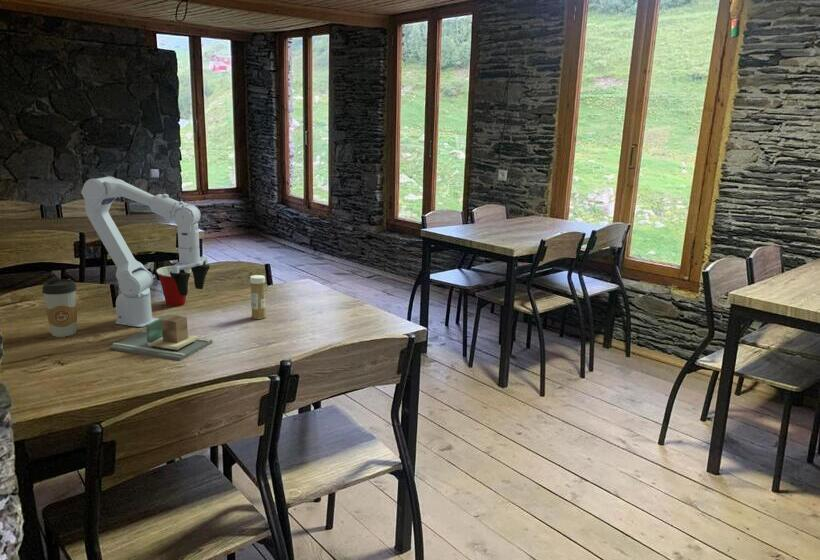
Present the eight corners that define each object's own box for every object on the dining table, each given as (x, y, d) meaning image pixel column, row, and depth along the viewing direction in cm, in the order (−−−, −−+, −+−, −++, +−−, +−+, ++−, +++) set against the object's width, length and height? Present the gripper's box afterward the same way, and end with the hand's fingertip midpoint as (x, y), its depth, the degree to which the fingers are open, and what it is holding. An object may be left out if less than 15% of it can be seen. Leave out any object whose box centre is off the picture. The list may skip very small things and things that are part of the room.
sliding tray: (147, 347, 161) (146, 324, 159) (169, 336, 169) (168, 314, 168) (177, 352, 158) (175, 328, 157) (197, 341, 167) (196, 318, 165)
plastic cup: (168, 311, 195) (165, 274, 192) (152, 303, 202) (150, 268, 199) (199, 304, 203) (197, 270, 200) (183, 297, 210) (181, 264, 207)
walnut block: (162, 341, 162) (161, 319, 160) (173, 335, 166) (172, 315, 165) (177, 343, 161) (175, 321, 159) (187, 338, 165) (186, 317, 163)
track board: (109, 349, 161) (109, 344, 161) (145, 332, 174) (145, 328, 174) (180, 360, 156) (180, 356, 155) (212, 342, 169) (212, 338, 168)
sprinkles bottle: (268, 318, 191) (267, 277, 188) (254, 320, 189) (252, 278, 186) (262, 314, 195) (261, 273, 192) (249, 316, 193) (247, 275, 189)
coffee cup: (46, 340, 166) (40, 287, 162) (48, 331, 173) (42, 280, 169) (80, 336, 170) (75, 284, 166) (81, 327, 177) (76, 277, 173)
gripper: (185, 252, 169) (187, 299, 172) (215, 243, 182) (217, 287, 186) (163, 250, 171) (166, 296, 174) (195, 241, 184) (197, 284, 188)
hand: (191, 291), depth 180 cm, fingers open, 7 cm apart
